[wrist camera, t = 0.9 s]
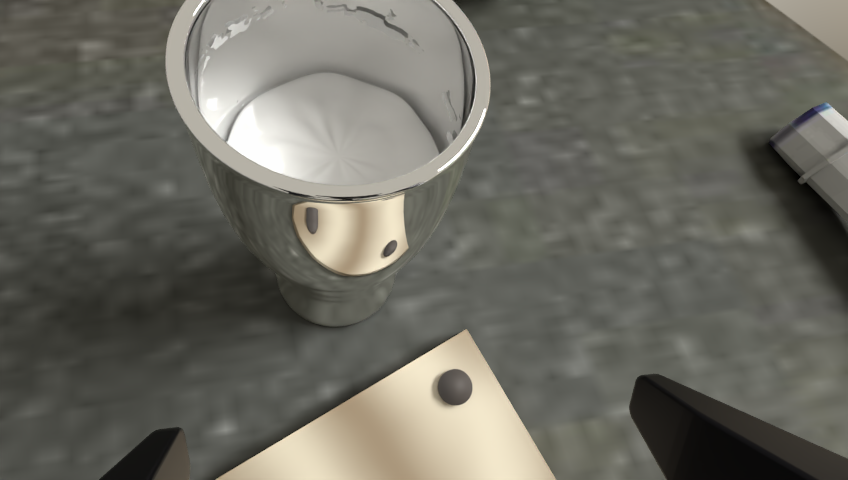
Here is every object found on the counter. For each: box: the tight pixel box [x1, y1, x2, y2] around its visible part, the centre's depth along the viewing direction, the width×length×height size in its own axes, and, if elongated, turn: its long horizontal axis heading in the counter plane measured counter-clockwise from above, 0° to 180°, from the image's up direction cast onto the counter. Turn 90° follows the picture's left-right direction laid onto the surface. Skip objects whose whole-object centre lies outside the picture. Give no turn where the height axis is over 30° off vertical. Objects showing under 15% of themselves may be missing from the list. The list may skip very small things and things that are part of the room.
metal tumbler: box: [165, 0, 491, 327], centre depth 16 cm, size 7×7×15 cm
